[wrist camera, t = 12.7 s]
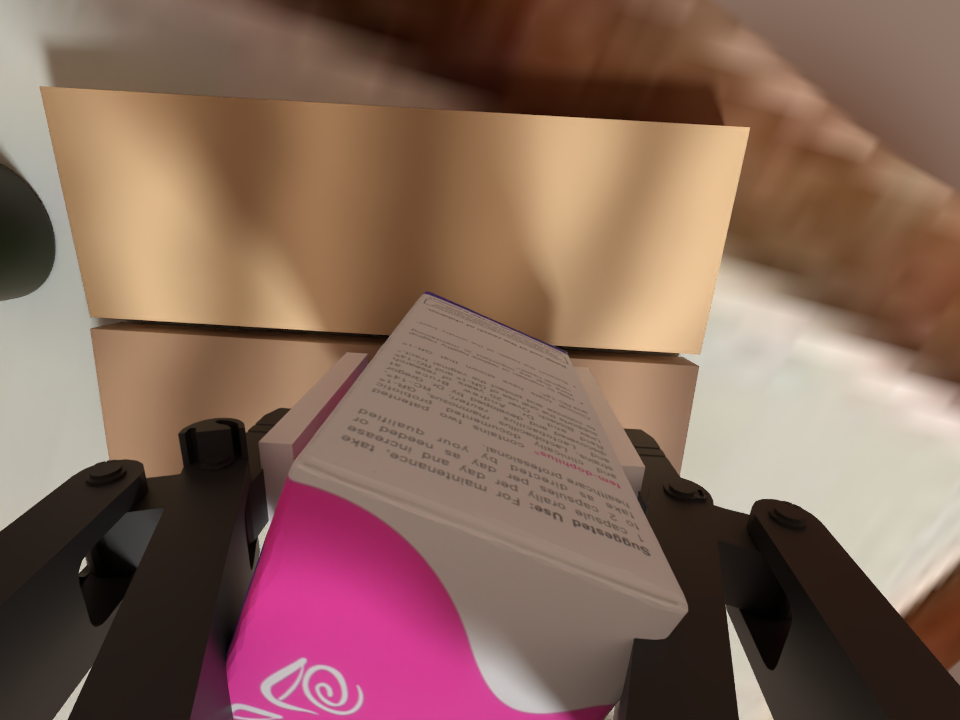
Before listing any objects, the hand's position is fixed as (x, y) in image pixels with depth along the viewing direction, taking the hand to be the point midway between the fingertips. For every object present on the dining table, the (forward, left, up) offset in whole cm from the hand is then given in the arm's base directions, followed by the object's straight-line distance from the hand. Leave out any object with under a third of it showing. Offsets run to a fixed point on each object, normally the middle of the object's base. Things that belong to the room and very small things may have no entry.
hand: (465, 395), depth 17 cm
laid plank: (-3, +5, -4) cm, 7 cm away
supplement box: (0, 0, -1) cm, 1 cm away
